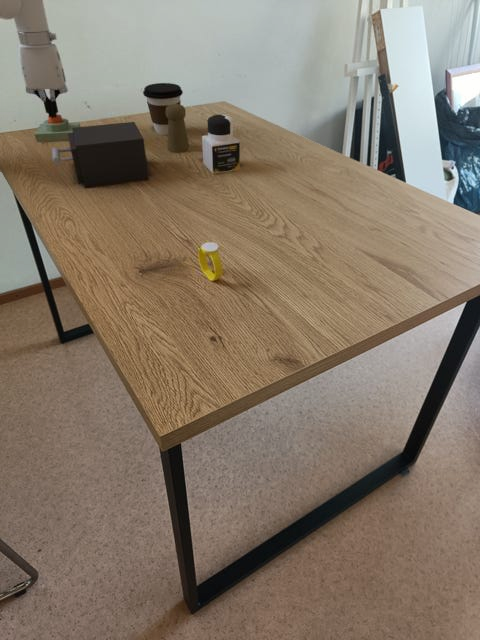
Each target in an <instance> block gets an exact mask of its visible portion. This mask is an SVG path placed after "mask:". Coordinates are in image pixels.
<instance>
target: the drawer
mask: <svg viewBox="0 0 480 640" xmlns="http://www.w3.org/2000/svg"><path fill="white" fill-rule="evenodd" d="M68 137H69V141H68V143H69V147H68V148H67V147H66V148H58V147H56V146H54V147H52V149H51V154H52V156H51V157H52V162H53V165H56V166H58V165H61V163H62V162H72V161H73V166H74V170H75V174H76V178H77V182H78V185H83V184H84V180H83V176H82V171H81V167H80V162H79V158H78V154H77V149H76V145H75V140H74V135H73V133H68ZM66 152H71V153H70V154H71V156H70V157H69V156H68V157H61V153H66Z"/></svg>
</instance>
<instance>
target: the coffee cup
mask: <svg viewBox="0 0 480 640" xmlns="http://www.w3.org/2000/svg"><path fill="white" fill-rule="evenodd" d="M142 93H143V96H144V97H146V103H147V109H148V111H149V115H150V119H151V122H152V125H153V127H154V130H155V132H156V134H157V135H160V136H168V118H167V117H166V113H165V111H166V107H167V106H168V105H171V104H180V105H181V96H182V95H183V93H184V91H183V90H182V87H181V86H180V85H179V84H176V83H171V82H159V83H158V82H157V83H151V84H148V85H146V86H145V87H144V88H143V92H142Z"/></svg>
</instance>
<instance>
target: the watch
mask: <svg viewBox="0 0 480 640" xmlns="http://www.w3.org/2000/svg"><path fill="white" fill-rule="evenodd" d="M197 251H198V252H197V257H198V263H199V266H200V269H201V271H202V273H203V274H204V275H205V276H206V277H207V278H208V280H209V281H210V282H214V281H218V280H220V279H221V278H222V276H223V263H222V259H221V256H220V254H219V245H218V243H216V242H212V241H207V242H205V243H203V244H202V245H201V246H200V247H199V249H198V250H197ZM207 255H208V256H209V257H210V259H211V261H212V264H213V268H214V270H213V271H212V269H211V268H210V265H209V263H208V259H207Z"/></svg>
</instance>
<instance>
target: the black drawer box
mask: <svg viewBox="0 0 480 640" xmlns="http://www.w3.org/2000/svg"><path fill="white" fill-rule="evenodd" d="M72 130H73V135H74V140H75V145H76V149H77V154H78V158H79V162H80V167H81V171H82V176H83V180H84V183H83V184H84V188H85V189H88V188H89V189H90V188H98V187H105V186H112V185H121V184H127V183H128V184H129V183H136V182H143V181H149V180H150V179H149V178H150V177H149V170H148V169H149V168H148V163H147V155H146V147H145V140H144V137H143V135H142V133H141V131H140V129H139V128H138V126H137V124H136V122H135V121H129V122H128V121H127V122H118V123H117V122H116V123H108V124H97V125H87V126H80V127H75V128H72Z"/></svg>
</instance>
